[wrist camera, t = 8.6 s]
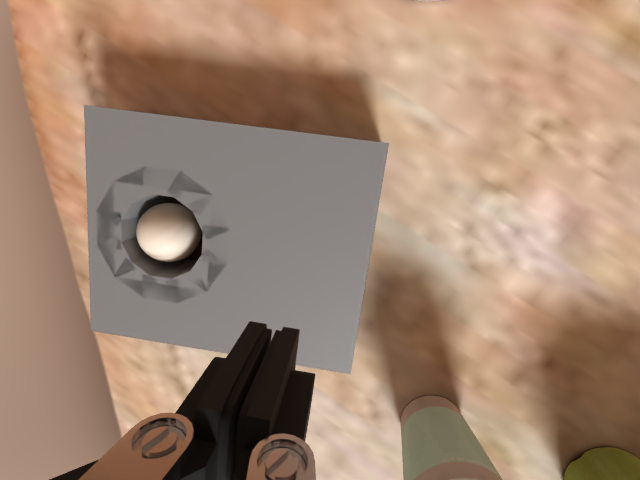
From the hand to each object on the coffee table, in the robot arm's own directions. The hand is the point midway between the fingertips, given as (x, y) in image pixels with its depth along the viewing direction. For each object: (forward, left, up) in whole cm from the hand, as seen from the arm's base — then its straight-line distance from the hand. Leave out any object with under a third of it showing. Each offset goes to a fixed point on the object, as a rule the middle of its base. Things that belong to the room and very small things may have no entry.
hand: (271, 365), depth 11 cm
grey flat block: (0, -7, -19) cm, 21 cm away
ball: (+1, -13, -17) cm, 21 cm away
